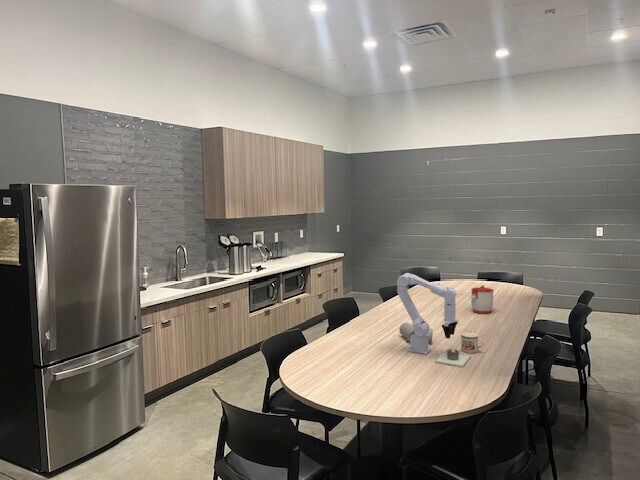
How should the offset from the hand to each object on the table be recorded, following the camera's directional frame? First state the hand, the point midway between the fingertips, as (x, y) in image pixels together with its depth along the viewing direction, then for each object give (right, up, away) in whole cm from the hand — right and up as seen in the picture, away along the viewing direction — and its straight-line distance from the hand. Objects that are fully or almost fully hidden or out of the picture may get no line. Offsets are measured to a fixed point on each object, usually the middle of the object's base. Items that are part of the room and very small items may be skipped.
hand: (449, 336), depth 254 cm
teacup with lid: (+14, -10, +8) cm, 19 cm away
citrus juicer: (+48, -2, +93) cm, 105 cm away
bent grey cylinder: (-13, -8, +29) cm, 33 cm away
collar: (0, -10, -7) cm, 12 cm away
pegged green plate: (0, -11, -7) cm, 13 cm away
